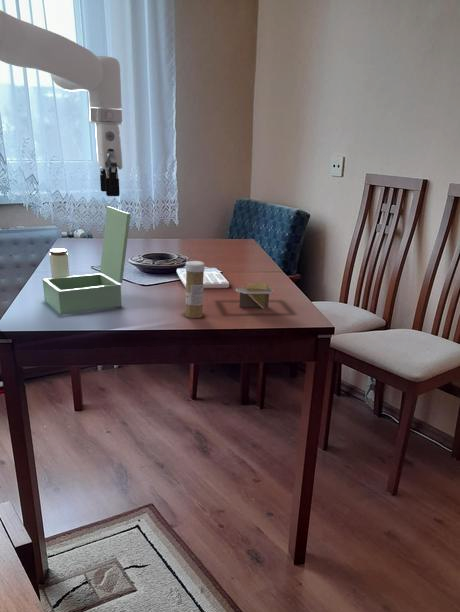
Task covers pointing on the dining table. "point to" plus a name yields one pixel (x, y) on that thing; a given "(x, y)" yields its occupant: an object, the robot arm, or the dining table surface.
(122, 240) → the chest lid
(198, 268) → the sprinkles bottle
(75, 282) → the chest
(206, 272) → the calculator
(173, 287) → the dining table surface
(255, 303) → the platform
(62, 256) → the jar
